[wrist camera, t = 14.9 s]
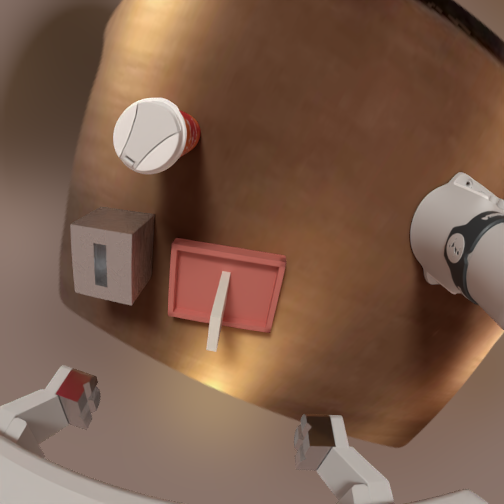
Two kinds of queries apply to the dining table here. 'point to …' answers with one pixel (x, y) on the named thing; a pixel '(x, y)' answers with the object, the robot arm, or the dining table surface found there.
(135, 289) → the dispenser
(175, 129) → the paper cup
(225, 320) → the tray
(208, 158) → the dining table surface
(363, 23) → the dining table surface
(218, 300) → the long rectangular block
